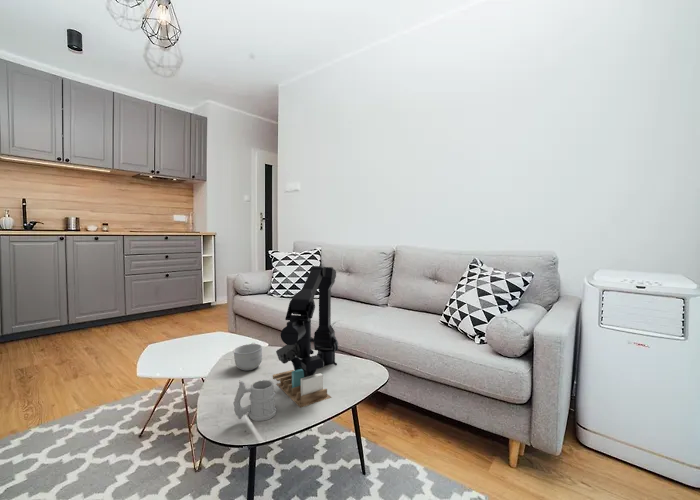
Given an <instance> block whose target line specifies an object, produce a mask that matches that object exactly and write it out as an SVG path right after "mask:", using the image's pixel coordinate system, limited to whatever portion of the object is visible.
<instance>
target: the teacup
mask: <svg viewBox="0 0 700 500" xmlns="http://www.w3.org/2000/svg"><path fill="white" fill-rule="evenodd" d="M262 349H263V347H262V345H261V344H259V343H256V342H252V343H248V344H242V345H239V346H237V347H235V348H234V349H233V351H232V352H233V356H234V358H233V359H234V364H235V366H236V368H238V369H240V370H241V371H251V370H255V369H257V368H258V366H260V365H261V363H262V361H263V350H262Z"/></svg>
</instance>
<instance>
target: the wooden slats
mask: <svg viewBox="0 0 700 500" xmlns="http://www.w3.org/2000/svg"><path fill="white" fill-rule="evenodd" d="M292 371H295V370H294V369H290V370H287V371H282V372H279V373H275V374H272V380H276V381H279V382H280V378H281V377H285V376H289V375H292Z"/></svg>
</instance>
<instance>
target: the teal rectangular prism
mask: <svg viewBox="0 0 700 500" xmlns="http://www.w3.org/2000/svg"><path fill="white" fill-rule="evenodd" d="M301 378H304V372H303V370H302V369H299V370H294V371H292V388H294V387H297V386H301Z"/></svg>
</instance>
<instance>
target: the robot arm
mask: <svg viewBox="0 0 700 500" xmlns="http://www.w3.org/2000/svg"><path fill="white" fill-rule="evenodd" d="M336 277H337V270H336V269H334V267H332V266H323V265H313V266H311V267H310V269H309V274H308V275H307V278H306V280H305V282H304V284H303V286H302V288H301V290H299V291H298V292H296V293H294V295H293V297H292V298H291V300H290V301H289V304H288V308H287V312H286V315H285V321H286V326H285V327H283V329H282V330H281V332H280V338H281V339H280V340H281V341H282V342H283V344H285V345H284V346H282V347H280V348H278V349H277V350H276V351H275V352H276V356H277V358H278V360H279V361H280V362H281V363H282V364H287V363H289V362H291V364H292V366H293V370H294V371H295V370H299V369H302V370H303V372H304V377H308V376H312V375H315V373H316V371H317V370H319V369H322V368H324V367H327V366H331V365H335V366H337V365H338V363H337V362H336V352H337V351H338V350H339V341H338V339H337V337H336V334H335V333H336V332H335V330H334V328H333V327H332V324H331V322H332V321H331V318H332V317H331V316H332V315H331V313H332V312H331V309H332V308H331V303H332V302H331V300H332V298H331V297H332V295H331V293H332V292H331V290H332V288H333V285H334V284H335V282H336ZM317 290H318V327H317V329H316V330H315V331H314V335H313V337H312V319H313V316H314V313H315V309H316V303H315V299H314V298H315V295H316V293H317ZM312 343H313V346H314V349H312ZM314 351H317V353H316V354H315V355H313V354H314ZM311 355H312V356H311Z"/></svg>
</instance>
